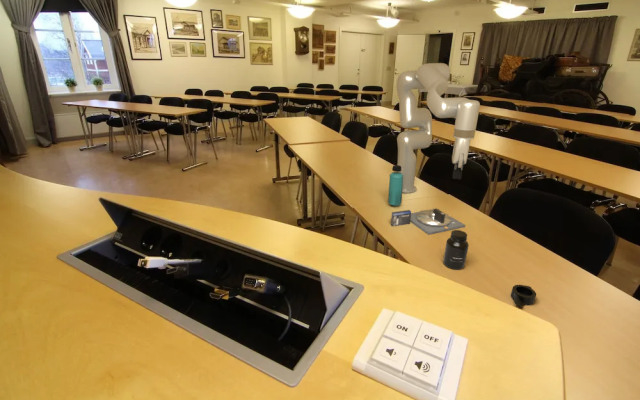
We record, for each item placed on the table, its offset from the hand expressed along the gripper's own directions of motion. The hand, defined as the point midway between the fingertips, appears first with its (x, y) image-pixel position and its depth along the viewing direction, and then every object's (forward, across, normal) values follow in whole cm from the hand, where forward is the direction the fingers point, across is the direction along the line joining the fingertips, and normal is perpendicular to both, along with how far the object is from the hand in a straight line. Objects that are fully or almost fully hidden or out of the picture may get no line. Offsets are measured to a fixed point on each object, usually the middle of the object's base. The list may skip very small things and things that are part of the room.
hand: (456, 178), depth 131 cm
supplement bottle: (+19, +35, 0) cm, 40 cm away
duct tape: (+19, +47, +18) cm, 54 cm away
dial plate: (+20, +3, -7) cm, 21 cm away
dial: (+18, +3, -7) cm, 20 cm away
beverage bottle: (+20, -9, -25) cm, 33 cm away
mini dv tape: (+20, +10, -20) cm, 30 cm away
